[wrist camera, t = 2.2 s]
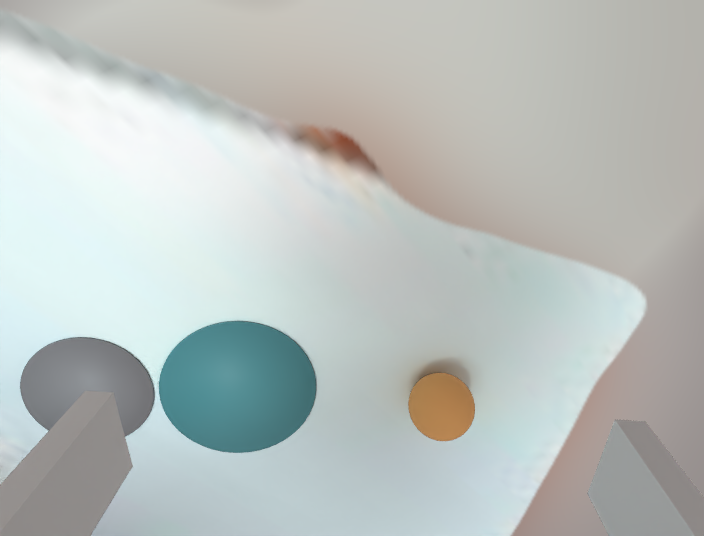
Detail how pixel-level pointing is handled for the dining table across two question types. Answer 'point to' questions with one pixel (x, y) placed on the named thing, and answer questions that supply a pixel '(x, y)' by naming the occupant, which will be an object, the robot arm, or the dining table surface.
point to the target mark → (237, 386)
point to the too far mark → (85, 380)
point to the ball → (441, 406)
